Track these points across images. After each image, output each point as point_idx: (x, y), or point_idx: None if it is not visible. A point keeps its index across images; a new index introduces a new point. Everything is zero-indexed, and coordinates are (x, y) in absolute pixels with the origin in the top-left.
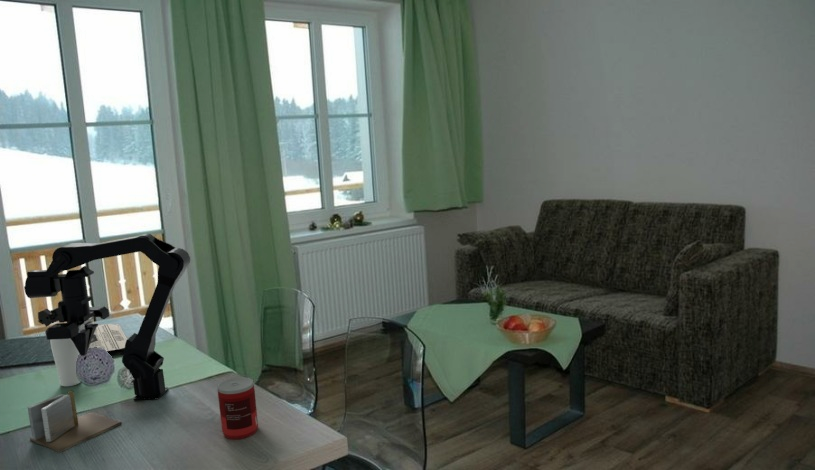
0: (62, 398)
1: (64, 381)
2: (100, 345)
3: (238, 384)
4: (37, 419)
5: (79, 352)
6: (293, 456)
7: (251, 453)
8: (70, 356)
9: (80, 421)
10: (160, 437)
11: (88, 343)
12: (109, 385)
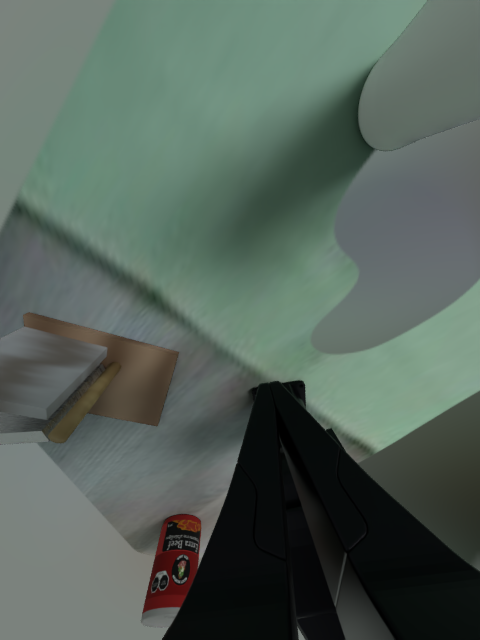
0: (18, 441)
1: (369, 96)
2: None
3: (171, 617)
4: None
5: (254, 402)
6: (151, 555)
7: (144, 539)
8: None
9: (132, 364)
10: (142, 478)
11: (297, 489)
12: (345, 279)
